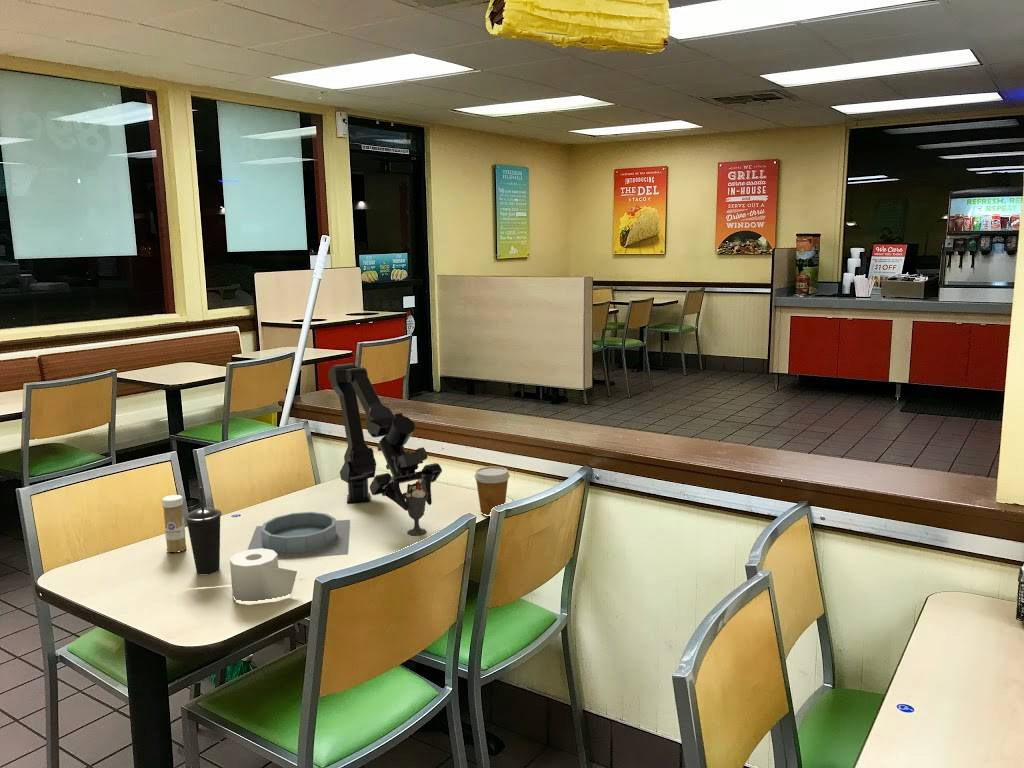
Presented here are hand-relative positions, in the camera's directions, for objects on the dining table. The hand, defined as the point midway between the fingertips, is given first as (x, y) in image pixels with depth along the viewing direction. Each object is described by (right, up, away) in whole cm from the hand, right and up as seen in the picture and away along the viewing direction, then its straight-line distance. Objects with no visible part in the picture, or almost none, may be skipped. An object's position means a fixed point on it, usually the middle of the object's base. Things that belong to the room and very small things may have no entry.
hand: (418, 507), depth 201 cm
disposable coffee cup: (+18, -4, +16) cm, 24 cm away
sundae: (-1, -7, +2) cm, 7 cm away
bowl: (-29, -8, -3) cm, 30 cm away
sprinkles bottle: (-58, -10, -7) cm, 59 cm away
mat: (-29, -8, -3) cm, 30 cm away
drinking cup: (-45, -12, -20) cm, 51 cm away
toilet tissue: (-29, -14, -33) cm, 46 cm away
